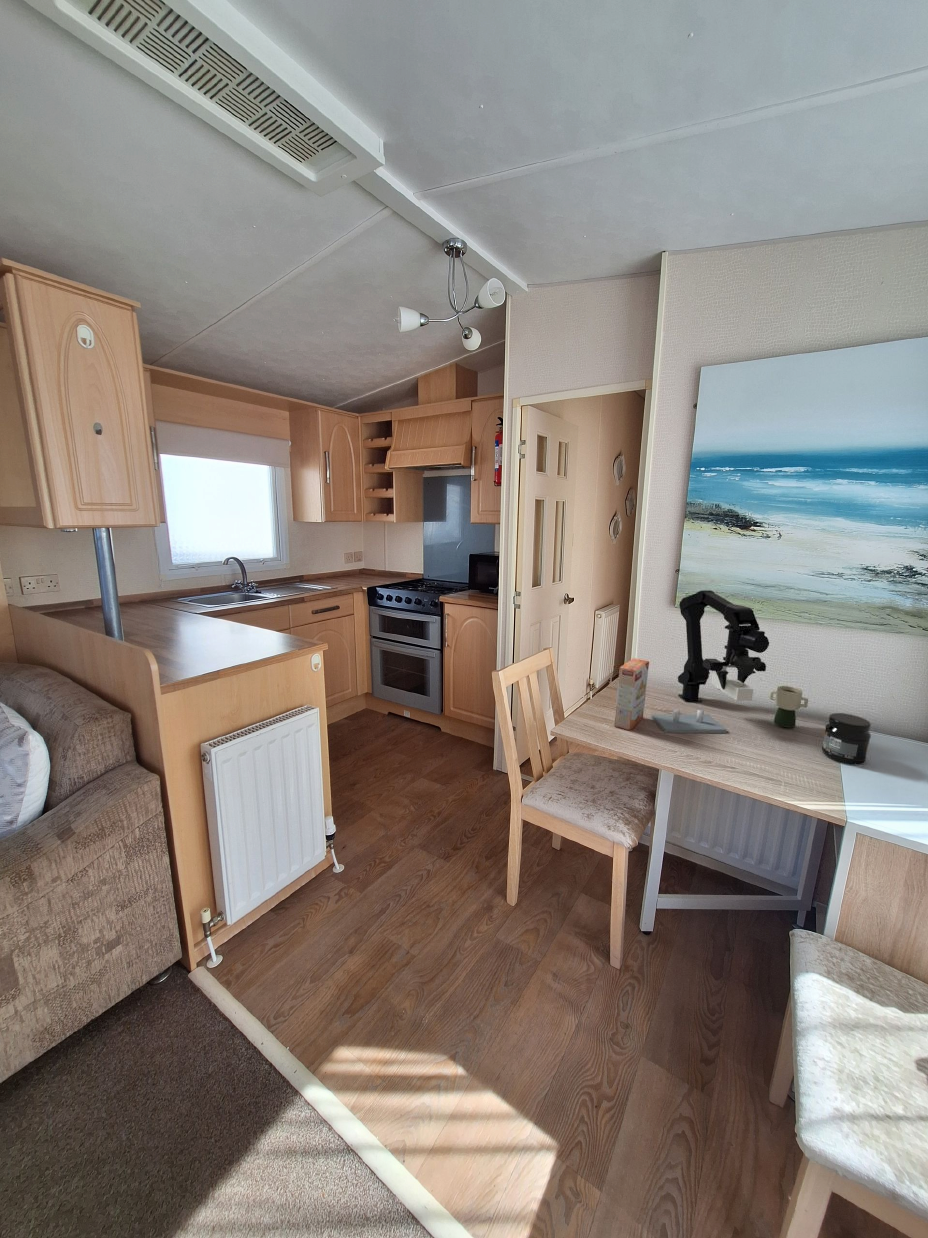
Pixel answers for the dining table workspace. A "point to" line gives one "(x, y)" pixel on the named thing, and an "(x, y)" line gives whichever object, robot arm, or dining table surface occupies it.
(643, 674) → the cracker box
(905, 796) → the dining table surface
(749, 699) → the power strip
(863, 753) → the supplement container
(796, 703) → the character mug
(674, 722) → the stud board
